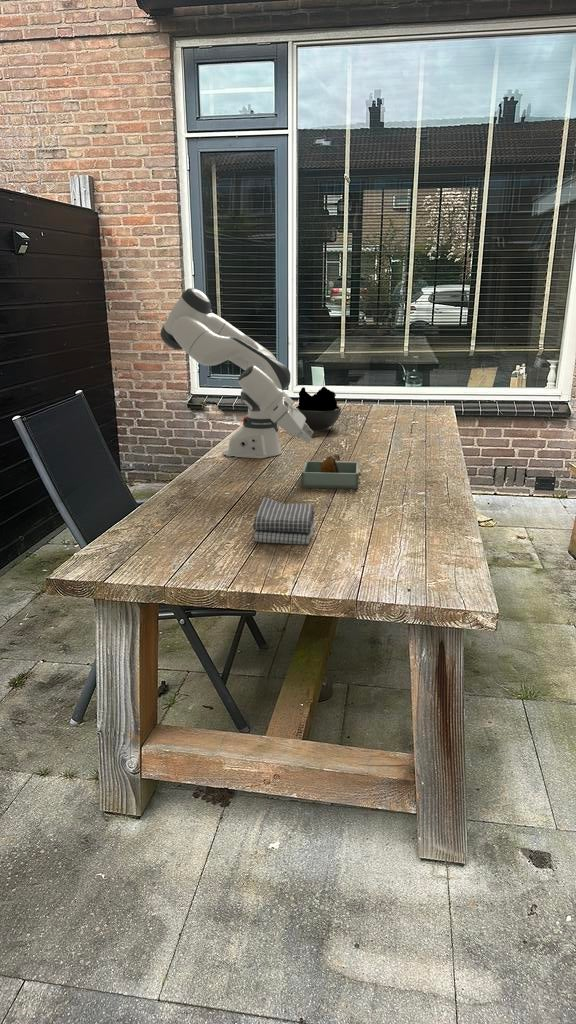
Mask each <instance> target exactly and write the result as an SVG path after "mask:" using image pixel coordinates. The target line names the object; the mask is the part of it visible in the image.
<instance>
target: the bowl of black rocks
mask: <svg viewBox="0 0 576 1024" xmlns="http://www.w3.org/2000/svg"><path fill="white" fill-rule="evenodd" d="M336 396H337V395H336V393H335V392H334V391H333V390H330V389H328V388H327V387H326V386H322V387H321V388H320V389H318V391H317V392H316V393H314V394H313V395H311V394H310V393H308V391H306V387H304V386H303V387H301V389H300V390H299V392H298V405H297V406H295V408H297V409H298V410H299V411H300V412H301V413H302V414H303V415H304V416H305V417H306V421H305V423H306V424H307V425H308V426H309V428H310V429H311V430H312V431H324V430H327V429H329V428H331V427H332V426H334V424H336V422H337V421H338V419H339V417H340V415H341V412H342V411H341V410H342V407H341V406H339V405H338V402H337V399H336Z"/></svg>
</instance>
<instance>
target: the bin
mask: <svg viewBox="0 0 576 1024" xmlns="http://www.w3.org/2000/svg"><path fill="white" fill-rule="evenodd" d="M323 461H324V460H323ZM323 461H322V460H320V461H319V460H317V461H316V460H315V461H314V460H306V461H304V462H305V463H304V464H303V468H302V471H301V489H302V488H303V489H337V490H339V489H340V490H342V489H343V490H359V476H360V475H359V468H360V462H359V461H358V462H336V464H337V467H338V470H339V473H322V472H321V466H320V462H323Z"/></svg>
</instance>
